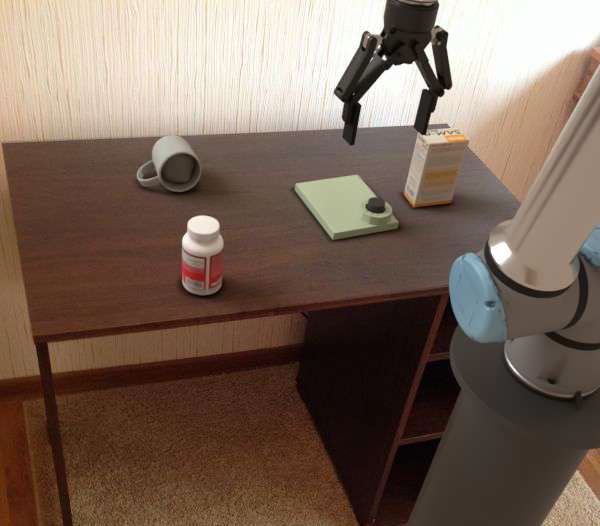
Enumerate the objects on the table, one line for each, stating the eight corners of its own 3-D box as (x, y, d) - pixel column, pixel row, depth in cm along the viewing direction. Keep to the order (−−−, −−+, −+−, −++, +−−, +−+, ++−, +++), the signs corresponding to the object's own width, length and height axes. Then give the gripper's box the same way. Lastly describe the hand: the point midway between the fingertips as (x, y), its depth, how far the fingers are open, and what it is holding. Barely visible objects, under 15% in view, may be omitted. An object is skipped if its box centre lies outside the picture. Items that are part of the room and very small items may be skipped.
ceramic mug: (189, 166, 140) (188, 127, 134) (202, 190, 135) (202, 150, 129) (132, 172, 136) (129, 133, 131) (143, 197, 132) (141, 157, 126)
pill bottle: (217, 270, 120) (219, 210, 112) (225, 294, 116) (229, 235, 108) (178, 273, 118) (178, 213, 110) (186, 298, 114) (186, 238, 106)
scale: (397, 228, 134) (400, 214, 132) (332, 240, 129) (335, 225, 127) (356, 181, 143) (358, 166, 141) (294, 190, 139) (296, 175, 136)
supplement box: (440, 190, 145) (458, 126, 135) (451, 204, 142) (471, 139, 132) (401, 194, 142) (417, 129, 133) (412, 208, 139) (430, 143, 130)
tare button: (386, 212, 132) (388, 205, 131) (371, 215, 131) (373, 207, 130) (378, 203, 134) (380, 196, 133) (363, 206, 133) (365, 198, 132)
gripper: (470, -18, 113) (435, 116, 129) (324, -10, 104) (306, 133, 119) (499, 1, 109) (460, 138, 124) (350, 11, 99) (327, 157, 115)
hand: (384, 136), depth 122 cm, fingers open, 13 cm apart
